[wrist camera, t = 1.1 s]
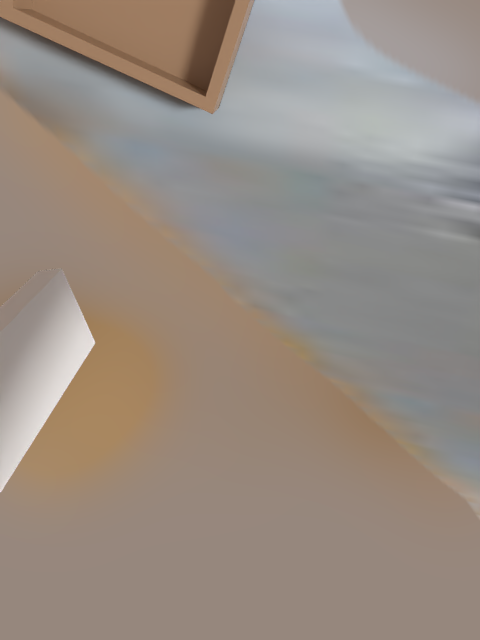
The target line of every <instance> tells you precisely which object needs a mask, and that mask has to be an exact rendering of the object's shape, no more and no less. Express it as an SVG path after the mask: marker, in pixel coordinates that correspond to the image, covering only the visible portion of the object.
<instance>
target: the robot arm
mask: <svg viewBox="0 0 480 640" xmlns="http://www.w3.org/2000/svg"><path fill="white" fill-rule="evenodd" d="M94 344H95V341H94V339H93V337H92V334H91V332H90V330H89V328H88V325H87V323H86V321H85V319H84V317H83V314H82V312H81V310H80V308H79V305H78V303H77V301H76V299H75V297H74V294H73V292H72V290H71V288H70V286H69V283H68V281H67V279H66V277H65V275H64V272H63V270H62V269H54V270H44V271H38V272H37V273H36V274H35V275H34V276H33V277H32V278H30V279H29V280H28V281H27V282H26V283H25V284H24V285H23V286H22V287H21V288H20V289H19V290H18V291H17V292H16V293H15V294H14V295H13V296H12V297H10V298H9V299H8V300H7V301H6V302H5V303H4V304H3V305H2V306H1V307H0V492H1V491H2V489H3V488H4V486H5V484H6V483H7V481H8V480H9V478H10V477H11V475H12V474H13V472H14V470H15V468H16V467H17V466H18V464H19V462H20V461H21V459H22V458H23V456H24V455H25V453H26V451H27V450H28V448H29V447H30V445H31V443H32V442H33V440H34V439H35V437H36V435H37V434H38V432H39V431H40V429H41V428H42V426H43V424H44V423H45V421H46V420H47V418H48V417H49V415H50V414H51V412H52V410H53V409H54V407H55V406H56V404H57V403H58V401H59V399H60V398H61V396H62V394H63V393H64V391H65V390H66V388H67V387H68V385H69V384H70V382H71V380H72V379H73V377H74V376H75V374H76V373H77V371H78V369H79V368H80V366H81V365H82V363H83V361H84V360H85V358H86V357H87V355H88V354H89V352H90V350H91V349H92V347H93V346H94Z"/></svg>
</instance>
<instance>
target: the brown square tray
mask: <svg viewBox="0 0 480 640" xmlns="http://www.w3.org/2000/svg"><path fill="white" fill-rule="evenodd" d="M253 3H254V0H0V17H2V18H4V19H6V20H8V21H10V22H13V23H15V24H17V25H19V26H21V27H24V28H26V29H28V30H30V31H32V32H34V33H37V34H39V35H41V36H43V37H45V38H48V39H50V40H52V41H54V42H56V43H58V44H61V45H63V46H65V47H67V48H69V49H72V50H74V51H76V52H78V53H80V54H83V55H85V56H87V57H89V58H91V59H93V60H96V61H98V62H100V63H102V64H104V65H107V66H109V67H111V68H113V69H115V70H117V71H120V72H122V73H124V74H126V75H128V76H131V77H133V78H135V79H137V80H139V81H142V82H144V83H146V84H148V85H150V86H152V87H155V88H157V89H159V90H161V91H163V92H166V93H168V94H170V95H172V96H174V97H176V98H179V99H181V100H183V101H185V102H187V103H190V104H192V105H194V106H196V107H198V108H201V109H203V110H205V111H207V112H209V113H211V114H213V113H214V112H215V111H216V110H217V109H218V108H219V106H220V103H221V100H222V97H223V93H224V90H225V87H226V84H227V81H228V78H229V75H230V72H231V69H232V66H233V63H234V60H235V57H236V54H237V51H238V48H239V45H240V42H241V39H242V36H243V33H244V30H245V27H246V24H247V21H248V18H249V15H250V12H251V9H252V6H253Z"/></svg>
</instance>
